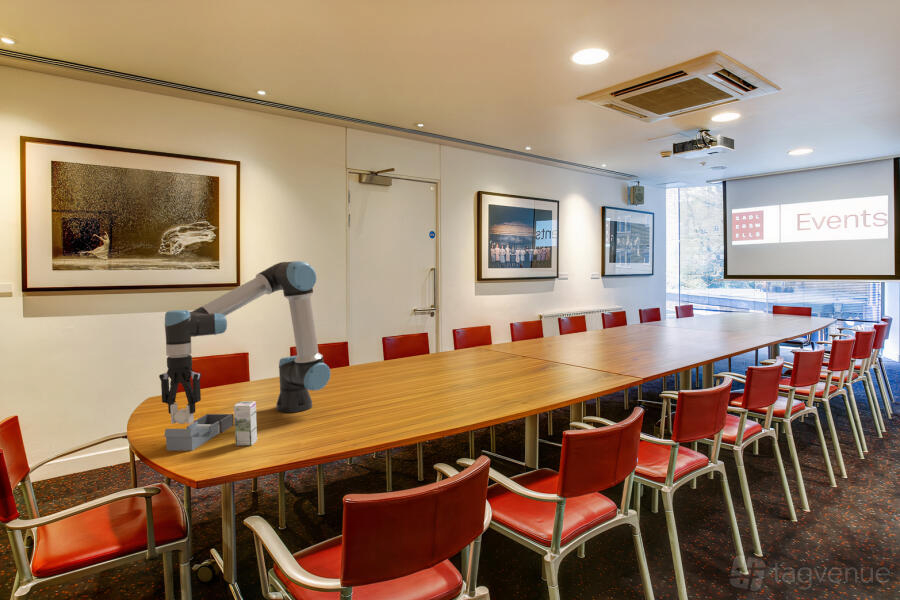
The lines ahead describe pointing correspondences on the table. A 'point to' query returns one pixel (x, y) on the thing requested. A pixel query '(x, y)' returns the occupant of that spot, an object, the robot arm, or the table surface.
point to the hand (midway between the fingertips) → (182, 422)
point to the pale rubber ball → (181, 416)
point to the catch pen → (223, 419)
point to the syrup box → (245, 423)
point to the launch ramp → (190, 436)
